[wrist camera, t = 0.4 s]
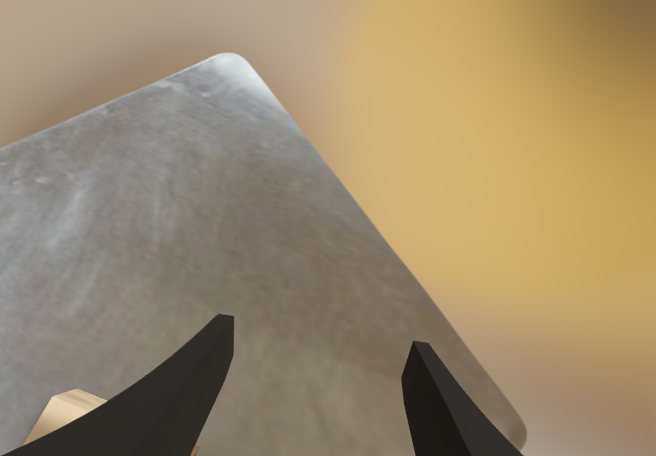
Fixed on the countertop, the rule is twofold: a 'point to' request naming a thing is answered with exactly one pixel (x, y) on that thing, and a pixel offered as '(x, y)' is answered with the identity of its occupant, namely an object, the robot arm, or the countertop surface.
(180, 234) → the countertop surface
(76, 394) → the maple block
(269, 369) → the countertop surface
